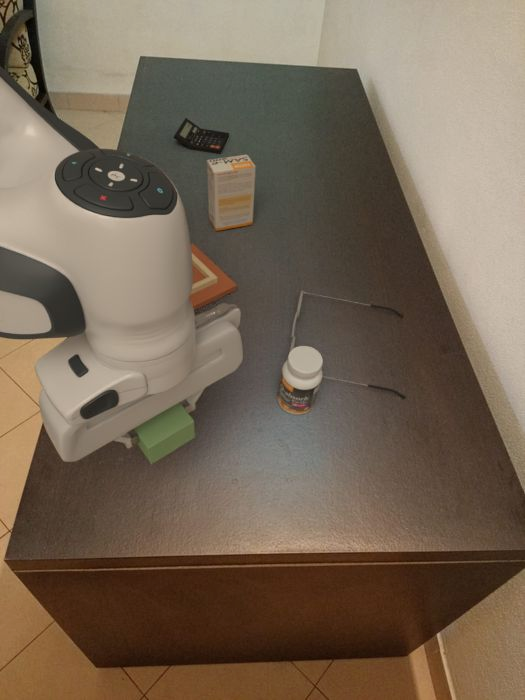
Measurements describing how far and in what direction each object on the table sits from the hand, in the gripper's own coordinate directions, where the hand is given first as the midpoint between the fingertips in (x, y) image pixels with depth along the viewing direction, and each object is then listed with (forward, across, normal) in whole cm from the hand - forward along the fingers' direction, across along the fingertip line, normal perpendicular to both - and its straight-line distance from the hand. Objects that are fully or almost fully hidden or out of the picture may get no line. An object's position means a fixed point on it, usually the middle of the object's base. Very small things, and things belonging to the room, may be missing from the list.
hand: (158, 424), depth 51 cm
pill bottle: (+13, -21, +1) cm, 25 cm away
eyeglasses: (+13, -35, -2) cm, 38 cm away
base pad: (+13, -21, -30) cm, 39 cm away
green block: (+2, 0, 0) cm, 2 cm away
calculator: (+13, -53, -71) cm, 89 cm away
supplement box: (+13, -39, -40) cm, 57 cm away
